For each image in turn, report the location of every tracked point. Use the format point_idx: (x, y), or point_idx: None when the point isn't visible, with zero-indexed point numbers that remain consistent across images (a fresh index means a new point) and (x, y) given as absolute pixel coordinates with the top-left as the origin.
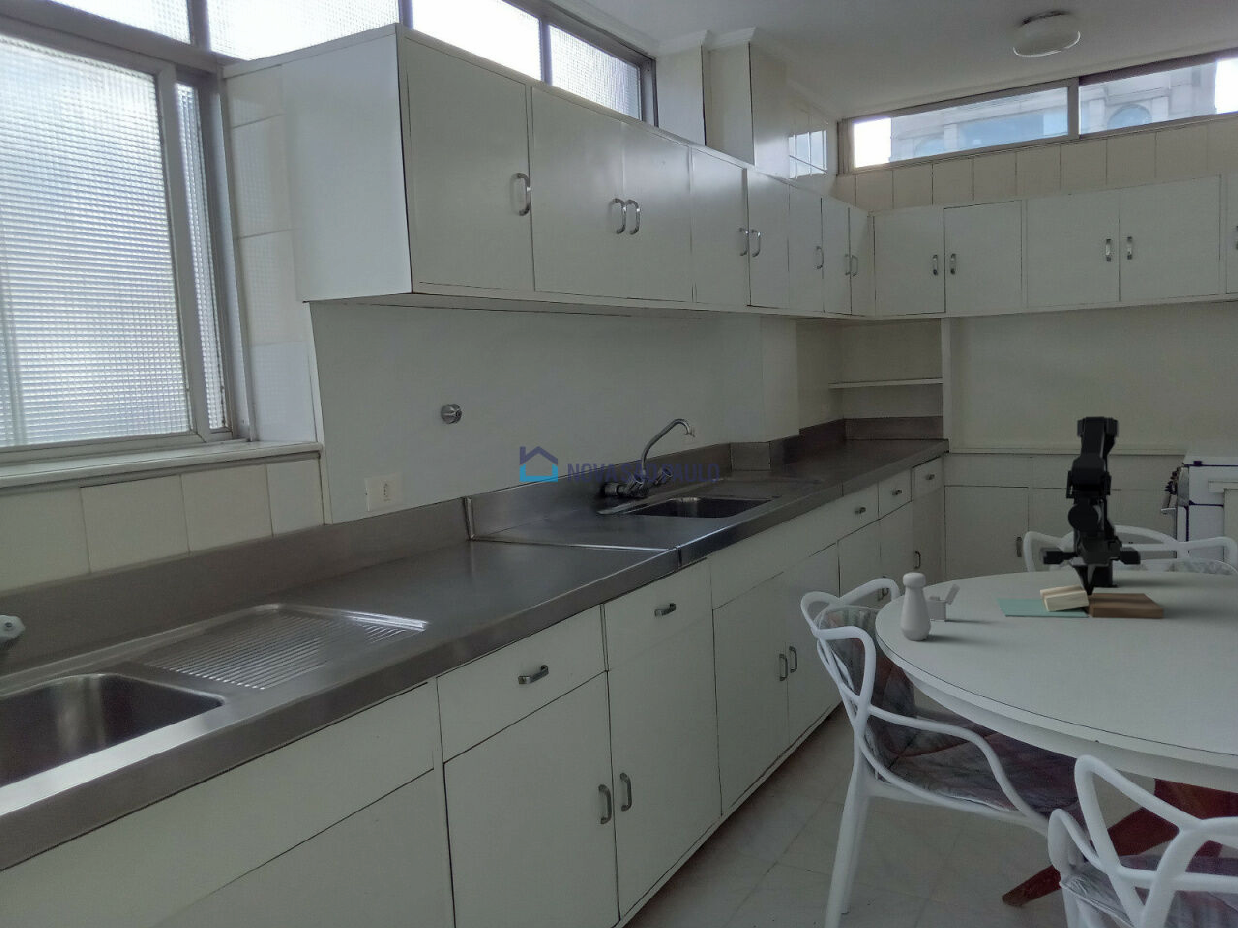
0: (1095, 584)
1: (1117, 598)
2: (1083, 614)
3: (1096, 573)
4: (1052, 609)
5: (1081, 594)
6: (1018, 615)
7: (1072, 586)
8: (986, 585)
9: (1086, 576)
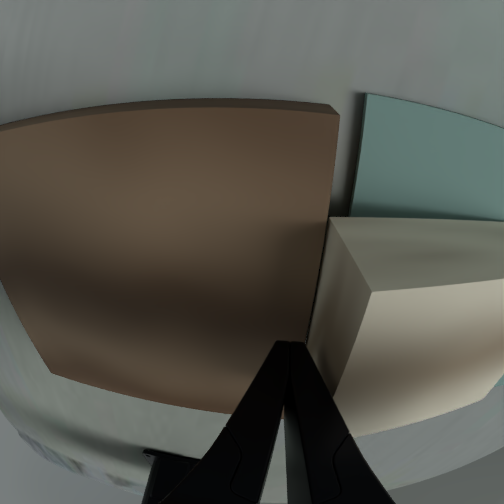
0: (239, 404)
1: (126, 338)
2: (380, 143)
3: (215, 501)
4: None
5: (409, 273)
6: None
7: (363, 422)
8: (444, 459)
9: (322, 477)
